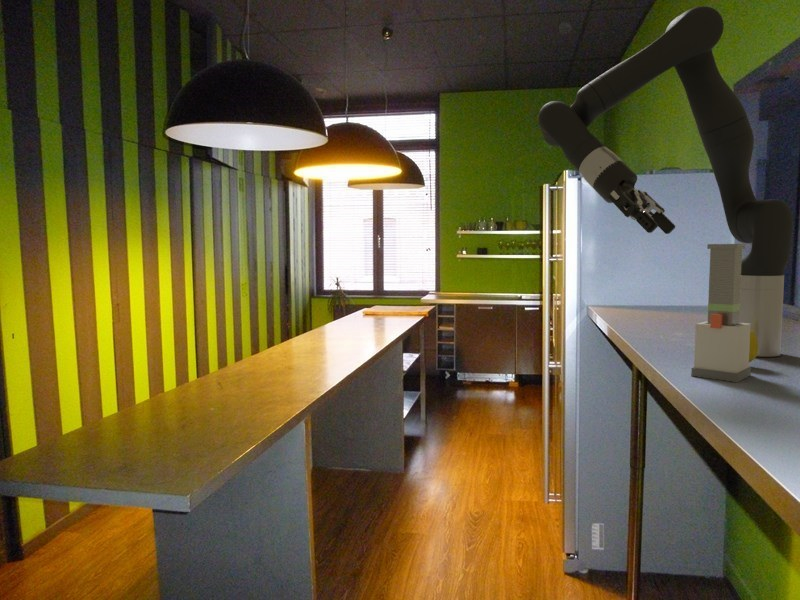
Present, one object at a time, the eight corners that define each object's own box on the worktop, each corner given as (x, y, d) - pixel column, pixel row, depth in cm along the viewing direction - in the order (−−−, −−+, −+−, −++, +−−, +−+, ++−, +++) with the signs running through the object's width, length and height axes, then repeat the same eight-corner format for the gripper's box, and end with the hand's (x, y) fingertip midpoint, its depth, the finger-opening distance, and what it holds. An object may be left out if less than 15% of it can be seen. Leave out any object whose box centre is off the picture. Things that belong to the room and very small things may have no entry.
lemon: (755, 370, 113) (757, 328, 113) (722, 367, 117) (724, 326, 116) (759, 366, 118) (761, 325, 117) (727, 362, 121) (729, 323, 120)
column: (712, 335, 112) (716, 244, 110) (741, 337, 108) (745, 244, 107) (703, 337, 108) (707, 244, 107) (733, 340, 105) (737, 243, 103)
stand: (706, 369, 114) (708, 309, 113) (750, 375, 109) (753, 312, 108) (690, 376, 108) (693, 313, 107) (736, 382, 103) (739, 316, 102)
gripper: (604, 155, 114) (663, 214, 107) (635, 163, 124) (691, 217, 117) (577, 186, 118) (633, 244, 111) (610, 191, 128) (662, 244, 121)
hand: (663, 230), depth 114 cm, fingers open, 8 cm apart
